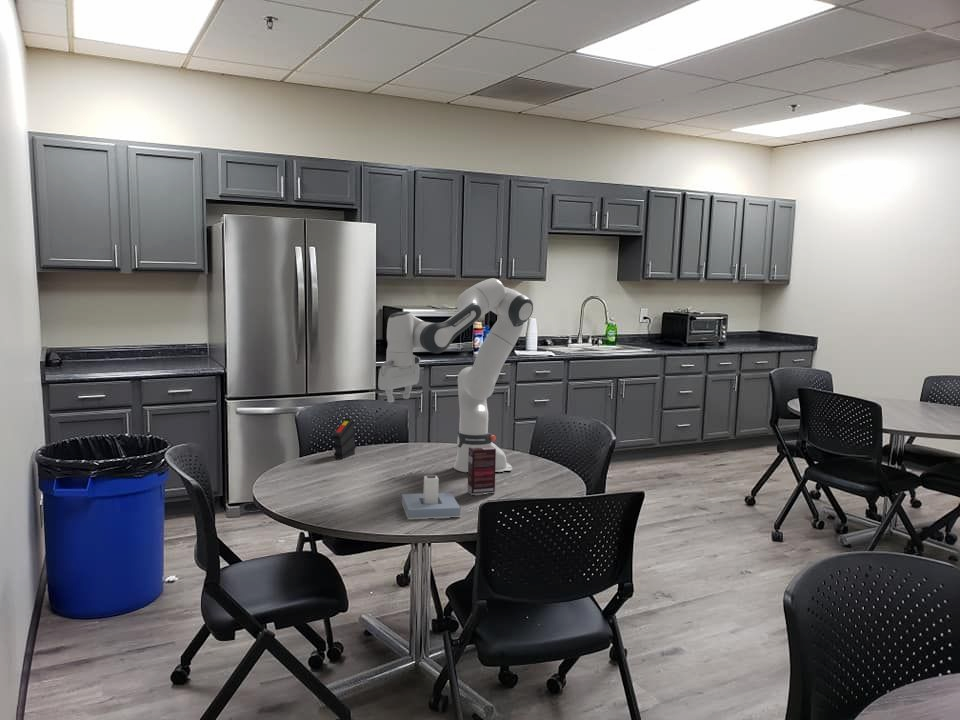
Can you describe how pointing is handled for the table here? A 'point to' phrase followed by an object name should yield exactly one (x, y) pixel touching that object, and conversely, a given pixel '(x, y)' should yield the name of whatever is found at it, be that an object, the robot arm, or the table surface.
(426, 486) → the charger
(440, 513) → the blue-gray square socket base
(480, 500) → the table surface
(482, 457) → the supplement box
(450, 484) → the table surface
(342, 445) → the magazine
